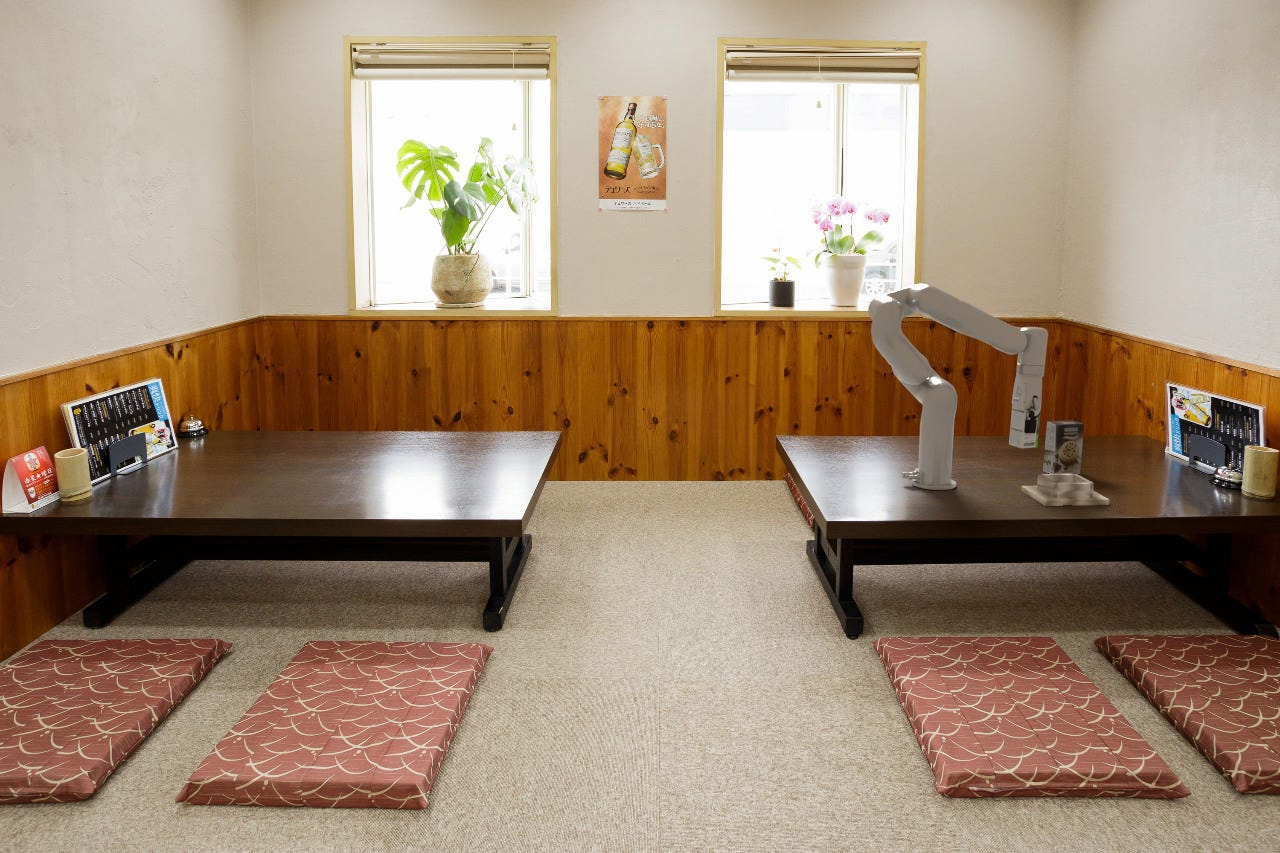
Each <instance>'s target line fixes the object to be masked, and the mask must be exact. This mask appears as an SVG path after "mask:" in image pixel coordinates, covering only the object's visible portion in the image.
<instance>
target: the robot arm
mask: <svg viewBox="0 0 1280 853" xmlns="http://www.w3.org/2000/svg"><path fill="white" fill-rule="evenodd" d="M867 312H868V316H869V318H870V319H871V320H872V321H871V322H872V323H871V328H870V331H871V332H870V335H871V340H872V343H873V345H874V347H875V349H876V350H877V351H878V352H879V354H880V355H881V356H882V358H884V359H885V361H886V363H888V365H890V366H891V370H892V373H893V375H894V376H895V377H896V378H897V379H898V381H899V382H900V383H901V384H902V385H903V386H904V387H905V389H907V391H909V392H910V394H911V395H912V396H913V397H914V398H915V399H916V400H917V401H918V402H919V403H920V404H921V405H922V408H921V416H920V424H919V443H918V445H919V446H918V461H917V462H918V465H917V466H918V467H917V468H916V467H915V468H914V470H912V471H901V474H900V475H901V479H908V480H910V481H911V484H912V485H913V486H915V487H917V488H920V489H924V490H930V491H931V490H932V491H947V490H952V489H955V488H956V487H957V482H956V480H954V479H952V467H953V466H952V465H953V449H954V448H953V446H954V428H955V418H956V412H957V406H958V393H957V391H956V388H955V387H954V386H953V384H951V383H950V381H947V380H946V379H943V378H942V377H941V376H940V375H939V374H938V373H937V371H935V370H934V368H932V366H931V365H930V362H929V360H928V358H926V357H925V355H923V354H922V353H921V352H920V351H919V350H918V349H917V348H916V346H914V345H913V344H912V342H910V340H909V339H908V338H907V336H906V335H905V334H904V333H903V331H902V325H901V324H902V320H903V319H904V318H907V317H910V316H913V315H916V314H920V315H922V316H923V317H927V318H928V319H930V320H933V321H934V322H937V323H939V324H941V325H943V326H945V327H947V328H948V329H951V330H953V331H955V332H958V333H959V334H962V335H965V336H968V337H970V338H973V339H976V340H978V341H981V342H982V343H985V344H987V345H990V346H991V347H993V348H994V349H996V350H998V351H1000V352H1003V353H1005V354H1007V355H1012V356H1013V355H1017V364H1016V373H1015V374H1016V376H1015V379H1014V383H1013V390H1012V398H1011V403H1012V402H1013V397H1019V399H1018V400H1019V401H1018V408H1020V409H1021V410H1026V409H1027V412H1026V415H1027V419H1025V428H1024V433H1036V425H1037V420H1038V415H1039V412H1040V410H1042V401H1041V400H1042V397H1043V396H1042V395H1043V394H1042V392H1043V377H1044V376H1045V367H1046V366H1045V365H1046V356H1047V347H1048V338H1049V331H1048V329H1046V328H1044V327H1038V326H1024V327H1022V326H1021V327H1019V326H1015V325H1011V324H1010V323H1007V322H1005V321H1004V320H1001V319H999V318H997V317H995V316H994V315H991V314H989V313H987V312H986V311H983V310H982V309H981V308H979V307H976V306H975V305H972V304H970V303H969V302H966V301H964V300H962V299H959V297H956V296H954V295H952V294H950V293H948V292H946V291H944V290H941V289H940V288H938V287H935V286H933V285H932V284H931V285H930V284H926V283H917V284H914V285H910V286H907V287H903V288H901V289H897V290H893V291H890V292H887V293H882V294H880V295H877V296H876V297H874V298H873V299H872V300H871V301H870V302H869V305H868V308H867ZM1040 406H1041V408H1040ZM1029 407H1031V408H1034V409H1029ZM1030 412H1032V413H1031V414H1030ZM1040 413H1041V412H1040Z"/></svg>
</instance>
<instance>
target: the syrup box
mask: <svg viewBox="0 0 1280 853" xmlns="http://www.w3.org/2000/svg"><path fill="white" fill-rule="evenodd" d="M1018 399H1019V397H1013V402H1012V401H1011V404H1012V405H1011V414H1010V415H1011V416H1010V426H1009V438H1008V439H1009V440H1008V444H1009V446H1013V447H1015V448H1019V449H1031V448H1037V447H1038V444H1039V441H1038V440H1039V435H1040V434H1039V432H1040V431H1039V430H1040V423H1041V422H1040V421H1041V410H1042V405H1041V406H1040V408H1041V410H1040V412H1039V415H1038V420H1037V425H1036V433H1024V428H1025V419H1027V415H1026V412H1027V409H1026V410H1021V409H1020V408H1018V401H1019V400H1018ZM1041 402H1042V399H1041ZM1029 409H1034V408H1031V407H1029ZM1031 413H1032V412H1030V414H1031Z"/></svg>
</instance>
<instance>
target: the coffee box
mask: <svg viewBox="0 0 1280 853" xmlns="http://www.w3.org/2000/svg"><path fill="white" fill-rule="evenodd" d="M1046 422H1047V423H1046V432H1045V443H1044V444H1045V445H1044V452H1043V454H1044V455H1043V464H1042V466H1043V467H1042V472H1044V473H1045V474H1048V473H1049V474H1080V475H1081V466H1082V465H1081V464H1082V454H1083V445H1084V444H1083V442H1084V434H1085V433H1084V430H1085V423H1082V422H1080V421H1075V420H1071V419H1070V420H1052V421H1051V420H1050V421H1049V420H1047V421H1046Z"/></svg>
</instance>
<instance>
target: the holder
mask: <svg viewBox="0 0 1280 853" xmlns="http://www.w3.org/2000/svg"><path fill="white" fill-rule="evenodd" d="M1036 481H1037V482H1036V485H1021V489H1020V492H1022V493H1023V494H1025V495H1027V496H1028V495H1029V497H1030V498H1031V499H1033V500H1034V501H1036V502H1038V503H1039V504H1042V505H1043V506H1044V507H1057V506H1058V507H1061V506H1063V505H1072V506H1108V505H1109V506H1110V499H1109V498H1107V497H1105V496H1103V495H1102V494H1100V493H1099V492H1097V491H1095V490H1094V486H1095V485H1094V484H1095V483H1094V482H1093V481H1091V480H1089V479H1087V478H1085V477H1083V476H1081V474H1080V475H1078V474H1048V473H1042V474H1038V475H1037V480H1036ZM1063 507H1064V506H1063Z"/></svg>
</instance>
